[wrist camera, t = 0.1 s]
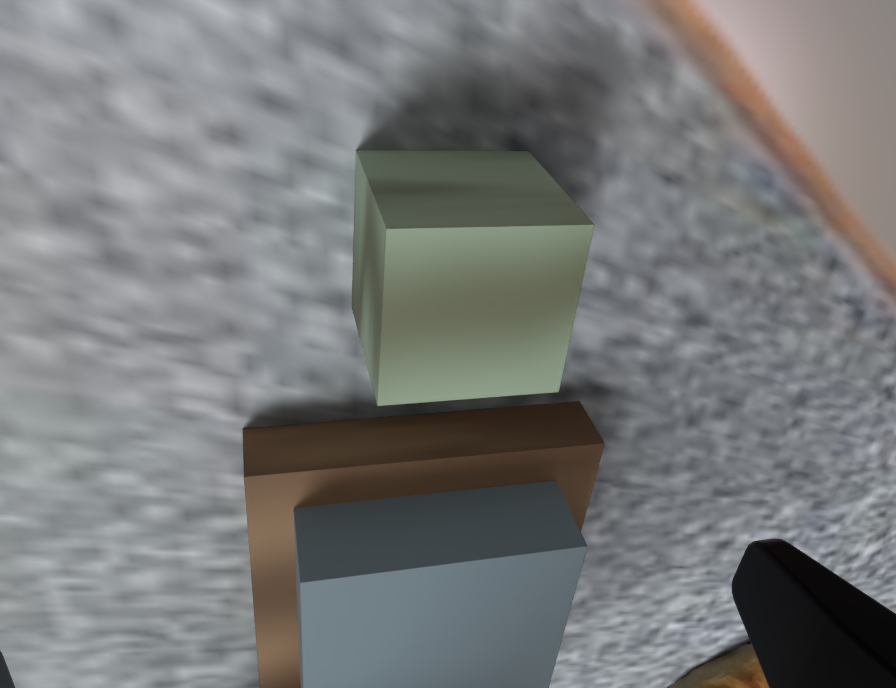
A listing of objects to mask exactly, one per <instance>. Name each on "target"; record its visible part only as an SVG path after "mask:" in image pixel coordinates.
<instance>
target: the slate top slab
mask: <svg viewBox="0 0 896 688" xmlns="http://www.w3.org/2000/svg"><path fill="white" fill-rule="evenodd" d="M294 535H295V562H296V589H297V616H298V643H299V671H300V684H301V688H549V685H550V681H551V677H552V674H553V670H554V666H555V663H556V659H557V655H558V652H559V648H560V644H561V641H562V637H563V633H564V630H565V626H566V622H567V619H568V615H569V611H570V608H571V604H572V600H573V597H574V593H575V589H576V586H577V582H578V578H579V575H580V571H581V567H582V564H583V560H584V557H585V553H586V549H587V545H586V543H585V541H584V538H583V536H582V534H581V532H580V530H579V528H578V526H577V524H576V522H575V520H574V518H573V516H572V513H571V511H570V509H569V507H568V505H567V503H566V501H565V499H564V497H563V495H562V493H561V491H560V488H559V486H558V484H557V482H556V480H554V481H544V482H535V483H525V484H515V485H506V486H496V487H487V488H477V489H468V490H458V491H449V492H439V493H430V494H420V495H411V496H401V497H391V498H382V499H373V500H364V501H354V502H345V503H336V504H327V505H317V506H308V507H299V508H294Z"/></svg>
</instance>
